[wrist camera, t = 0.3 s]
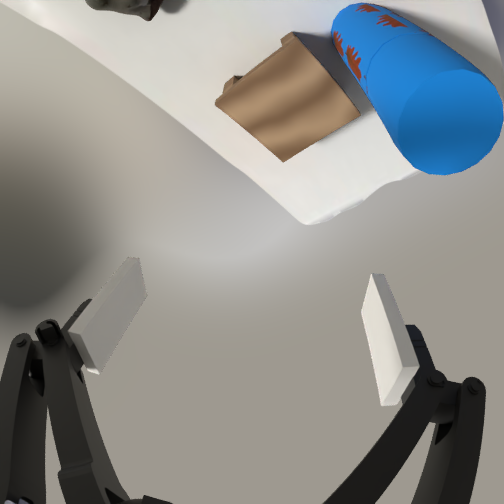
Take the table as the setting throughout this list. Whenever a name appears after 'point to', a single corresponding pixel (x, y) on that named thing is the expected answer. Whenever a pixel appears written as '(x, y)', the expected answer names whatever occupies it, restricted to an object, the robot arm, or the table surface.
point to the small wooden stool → (287, 100)
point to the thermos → (420, 89)
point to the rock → (128, 7)
